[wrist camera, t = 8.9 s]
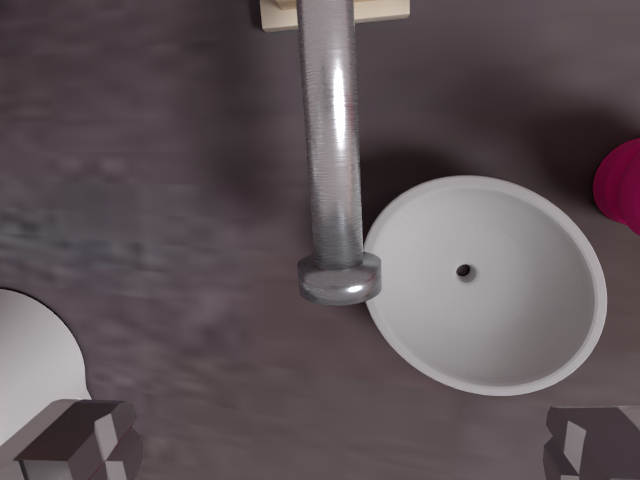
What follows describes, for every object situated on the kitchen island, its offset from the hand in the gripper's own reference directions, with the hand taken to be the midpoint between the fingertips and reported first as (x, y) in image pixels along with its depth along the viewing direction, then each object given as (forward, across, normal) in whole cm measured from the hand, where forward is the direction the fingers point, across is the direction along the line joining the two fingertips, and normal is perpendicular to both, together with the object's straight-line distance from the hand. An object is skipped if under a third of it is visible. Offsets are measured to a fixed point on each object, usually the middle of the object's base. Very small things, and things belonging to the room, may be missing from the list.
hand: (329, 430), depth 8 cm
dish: (+24, -9, +5) cm, 26 cm away
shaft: (+17, +1, -9) cm, 20 cm away
